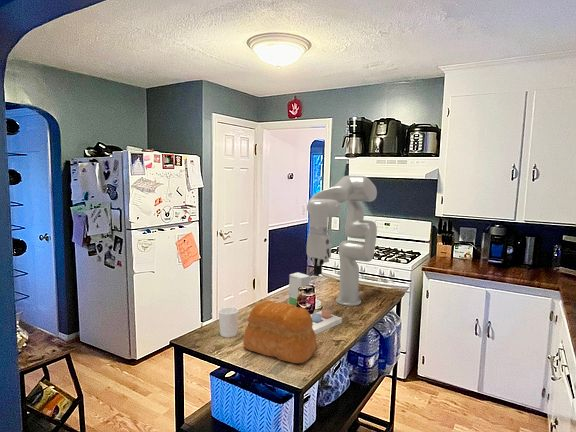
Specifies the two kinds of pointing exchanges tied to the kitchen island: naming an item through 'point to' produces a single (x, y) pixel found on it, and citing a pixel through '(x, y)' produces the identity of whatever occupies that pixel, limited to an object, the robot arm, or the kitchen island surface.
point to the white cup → (228, 321)
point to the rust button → (326, 314)
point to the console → (325, 323)
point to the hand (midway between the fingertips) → (317, 274)
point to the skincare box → (296, 285)
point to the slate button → (316, 318)
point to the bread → (280, 332)
